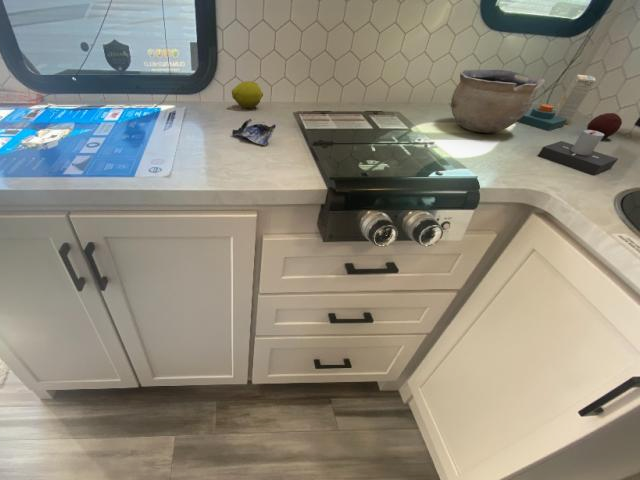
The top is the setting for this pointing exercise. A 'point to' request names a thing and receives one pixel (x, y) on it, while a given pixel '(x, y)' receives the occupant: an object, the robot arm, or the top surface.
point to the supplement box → (574, 96)
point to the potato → (605, 124)
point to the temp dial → (587, 142)
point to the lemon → (247, 94)
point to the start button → (545, 108)
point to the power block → (542, 119)
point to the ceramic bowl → (492, 99)
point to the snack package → (255, 132)
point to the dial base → (577, 158)
